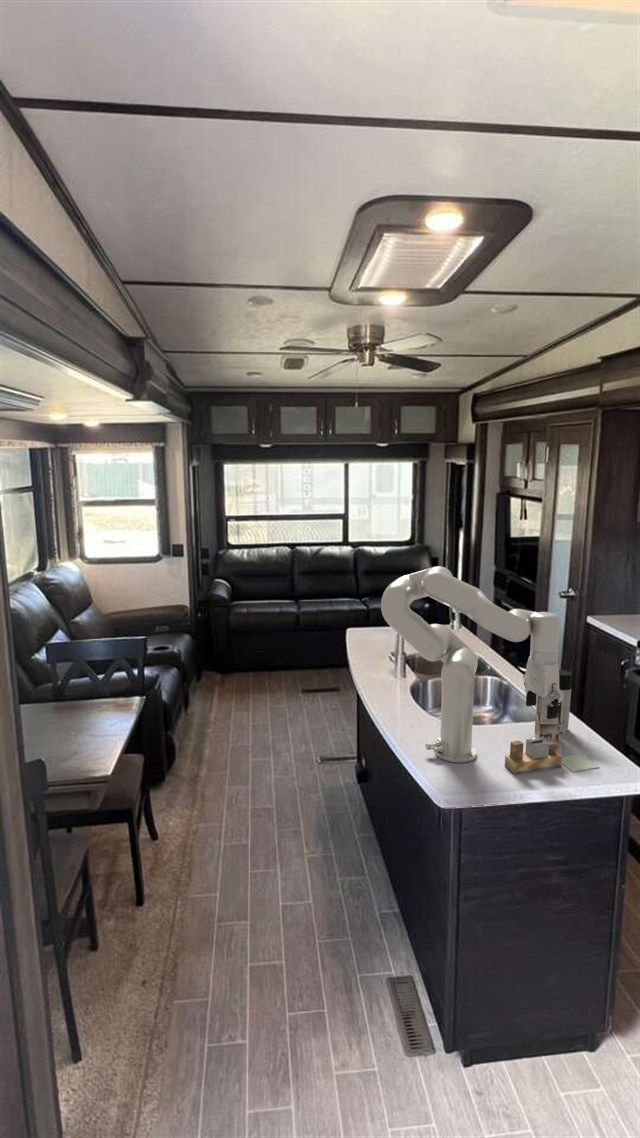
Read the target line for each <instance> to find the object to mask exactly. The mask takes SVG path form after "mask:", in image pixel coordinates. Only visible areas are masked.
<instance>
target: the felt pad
mask: <svg viewBox="0 0 640 1138" xmlns="http://www.w3.org/2000/svg"><path fill="white" fill-rule="evenodd" d="M562 766H565V767H566V768H568V770H570V771H572V772H573V773H576V772H583V771H587V770H588V771H589V770H593V769H599V768H600V765H597V763H594V762H593V761H591V760H590V759H588V758H587V757H585V756H584V755H583V754H575V755H569V756H562Z"/></svg>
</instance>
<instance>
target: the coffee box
mask: <svg viewBox="0 0 640 1138" xmlns="http://www.w3.org/2000/svg"><path fill="white" fill-rule="evenodd" d="M550 695H551V694H550ZM551 700H552V701H553V700H554V698H553V697H552V698H551ZM547 705H549V703H548V701H547V698H542V697H540V696H539V695H537V698H536V705H535V716H534V717H535V719H534V736H535V738H539V737H542V738H543V739H544V740H546V741H547V742H555V743H556V744H557V747H559V742H560V733H559V731H560V718H561V706H562V702H561V703H560V705H558V717H557V718H554V719H548V718H547Z"/></svg>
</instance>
